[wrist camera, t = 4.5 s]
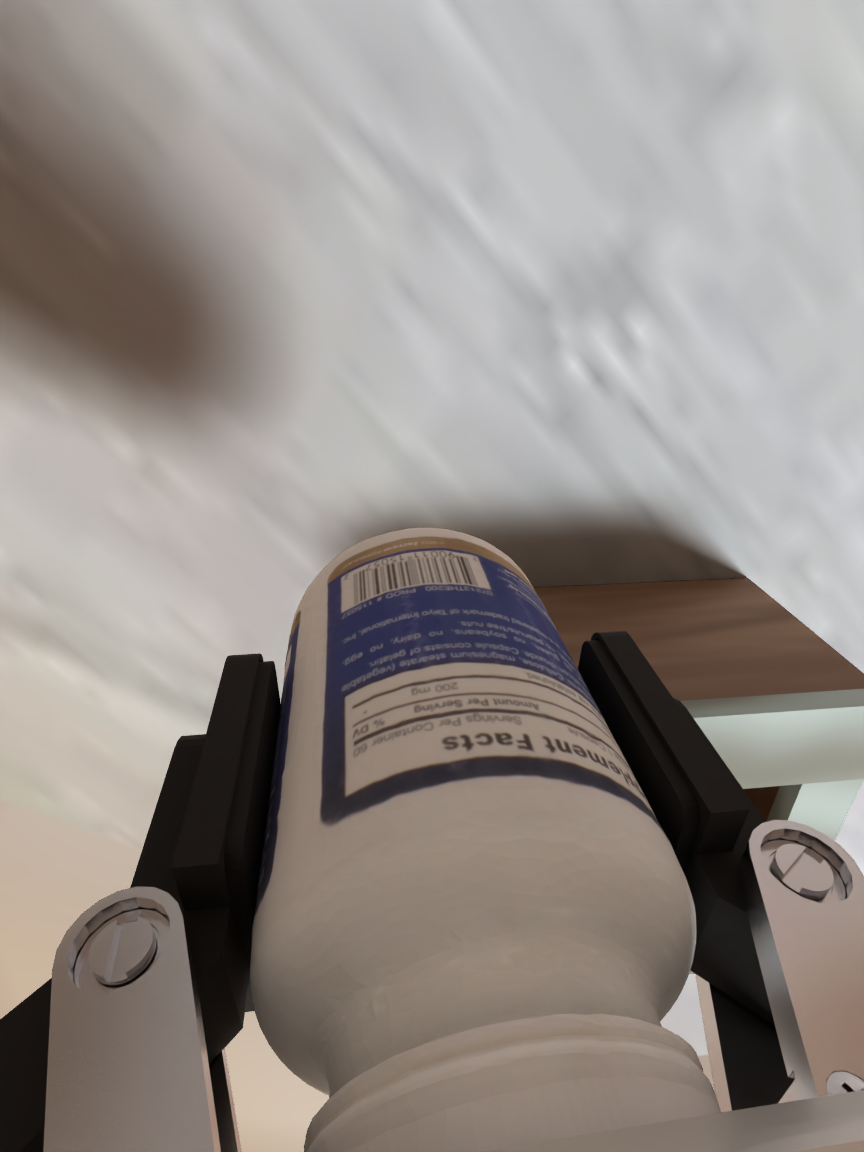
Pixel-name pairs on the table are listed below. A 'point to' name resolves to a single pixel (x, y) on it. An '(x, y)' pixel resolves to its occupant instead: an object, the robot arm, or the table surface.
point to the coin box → (741, 685)
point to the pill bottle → (461, 871)
